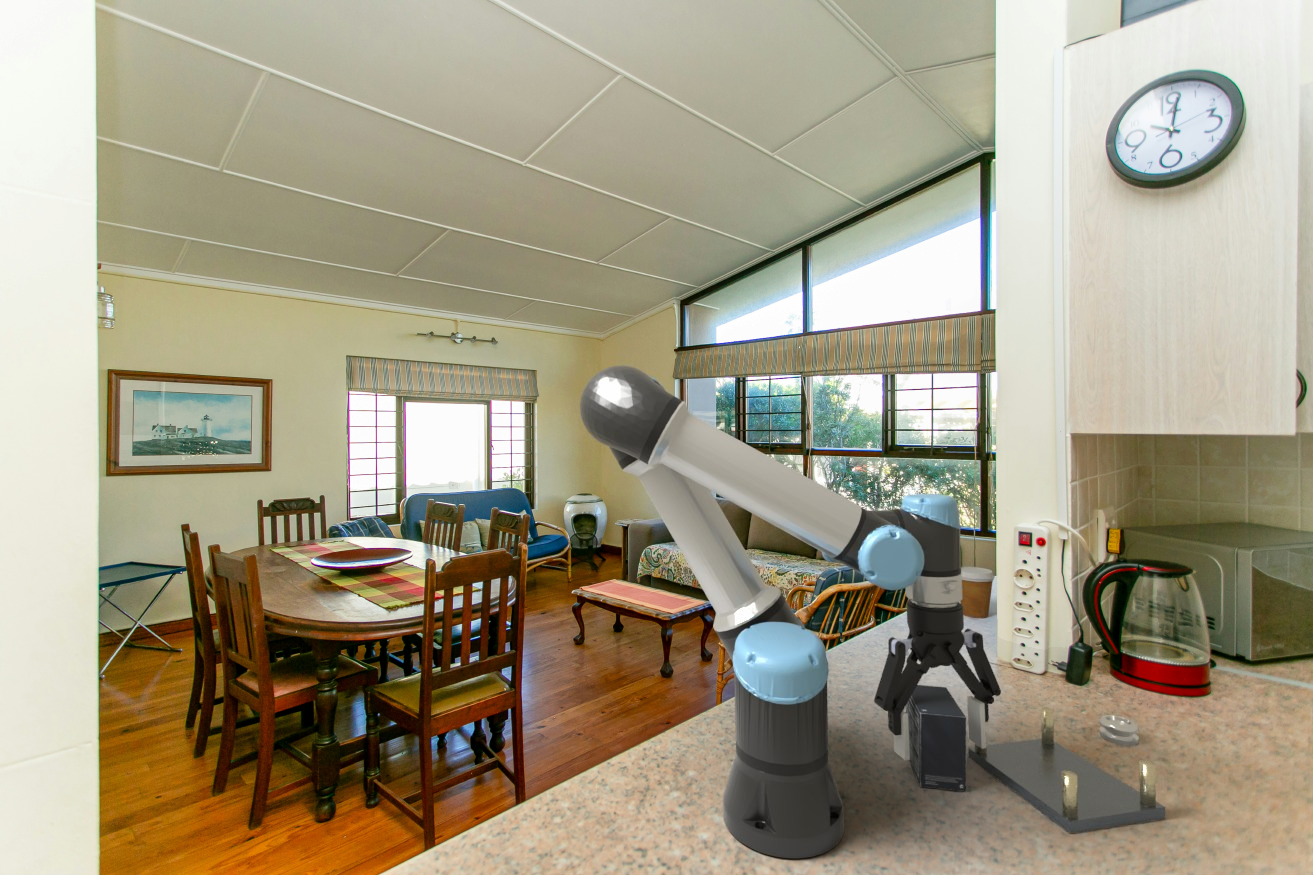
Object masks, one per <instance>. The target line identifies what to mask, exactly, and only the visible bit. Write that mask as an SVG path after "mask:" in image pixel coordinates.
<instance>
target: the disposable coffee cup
mask: <svg viewBox="0 0 1313 875" xmlns="http://www.w3.org/2000/svg"><path fill="white" fill-rule="evenodd" d="M961 574H962V600H961V601H960V602H959V603H960V604H961V605H962V606H963V616H965V617H970V618H973V619H974V618H976V619H985V618H988V617H989V613H990V605H991V598H992V591H993V590H992V587H993V582H994V579H995V577H996V576H995V575H994V572H993V570H991V569H989V568H984V567H977V566H961Z"/></svg>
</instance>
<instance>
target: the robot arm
mask: <svg viewBox="0 0 1313 875" xmlns="http://www.w3.org/2000/svg"><path fill="white" fill-rule="evenodd" d="M579 402H580V403H579V413H580V417H581V422H582V424H583V426H584V427H585V429H586V431H587V432H588V433H589V434H590V436H592V438H594V439H595V440H596V441H598V442H599V443H600V444H603V445H604V446H607V447H609V450H610V452H611V453H612V455H613V456H614V458H615V460H616V462H617V464H618V465H619V467H620V468H621V469H622V470H621V471H623V472H624V473H627V474H629V475H634V476H636V477H637V478H638V480H639V481H640V483H641V485H642V487H643V488H644V490H645V492H646V494H647V496H648V497H649V499H650V500H651V503H652V504H653V506H654V508H655V509H656V511H657V513H658V515H659V516H660V518H661V519H662V521H663V523H664V525H665V526H666V528H667V530H668V532H669V533H670V535H671V537H672V539H673V540H674V542H675V543H676V545H677V547H678V549H679V551H680V553H681V554H682V555H683V557H684V559H685V561H686V563H687V565H688V566H689V568H690V570H691V571H692V573H693V575H694V577H695V578H696V580H697V582H698V583H699V586H700V587H701V589H702V591H703V592H704V594H705V596H706V598H707V599H708V601H709V602H710V604H711V606H712V608H713V610H714V611H715V617H714V621H713V625H712V626H713V629H714V631H715V634H717V636H718V638H719V640H720V641H721V643H722V645H723V647H724V648H725V650H726V652H727V654H728V656H729V658H730V659H731V662H732V666H733V680H734V716H735V718H734V719H735V720H734V723H735V724H734V725H735V726H734V727H735V756H734V759H733V762H732V766H731V769H730V772H729V775H728V778H727V782H726V784H725V788H724V792H723V796H722V807H723V808H722V810H723V811H722V817H724V818H723V822H724V824H725V826H726V828H727V830H728V831H729V833H730V834H731V835H732V836H733V837H734V838H735V839H736V840H738V842H740V843H741V844H743V845H744V846H746V847H748V848H749V849H752V850H754V851H757V852H758V853H761V854H765V855H767V856H772V857H775V858H776V857H777V858H782V859H784V858H785V859H805V858H812V857H817V856H819V855H822V854H824V853H826V852H829V851H831V849H833V848H834V847H836V846H837V845H838V844H839V842H840V841H841V840H842V838H843V835H844V832H845V814H844V813H845V811H844V805H843V801H842V798H841V795H840V792H839V790H838V787H837V784H836V781H835V778H834V774H833V771H832V768H831V766H830V762H829V760H830V759H829V719H828V718H829V714H828V713H829V712H828V711H829V710H828V702H829V701H828V678H829V671H830V669H829V660H828V658H827V649H826V647H825V645H824V644H825V643H824V642H823V640H822V639H821V638H820V637H819V636H818V635H817V634H816V633H814V632H813V631H812V630H810V629H806V627H805V625H804V624H803V622H802V620H801V619H800V618H799V617H797V615H796V614H795V613H794V611H793V609H792V608H791V607H790V604H789V603H788V601H787V599H786V598H785V596H784V595H783V593H782V591H781V590H780V588H779V587H778V586H777V587H776V586H773V585H769V584H767V583H765V581H764V580H763V578H762V577H761V575H760V573H759V572H758V570H757V569H756V567H755V565H754V564H753V561H752V559H751V558H750V556H749V555H748V553H747V551H746V549H745V547H744V546H743V544H742V543H741V541H740V539H739V537H738V536H737V534H736V532H735V530H734V528H733V527H732V525H731V524H730V522H729V519H727V517H726V515H725V513H724V511H723V510H722V508H721V506H720V505H719V503H718V502H717V500H716V498H715V497H714V495H713V493H715V494H717V495H718V496H720V497H722V498H724V500H725V499H726V500H727V501H729V502H731V503H733V504H735V505H736V506H738V507H740V508H741V509H743V510H745V511H746V512H747V511H748V512H749V513H751V514H753V515H754V516H756V517H758V518H760V519H762V520H764V521H766V522H767V523H769V524H771V525H773V526H774V527H777V528H778V529H780V530H782V531H783V532H785V533H787V534H789V535H791V536H792V537H795V538H797V539H798V540H800V541H802V542H803V543H806V544H807V545H808V546H811V547H813V548H814V549H816V550H818V551H819V552H821V555H822V557H823V559H824V560H825V562H826V561H827V563H841V564H842V565H844V566H846V567H847V568H849V569H852V570H853V571H854V572H856V573H859V574H860V575H861V576H863V577H864V579H865V580H866V581H868V582H869V583H871V584H872V585H875V586H877V587H878V588H881V589H885V590H889V591H898V590H904V589H905V596H906V598H908V600H907V601H906V623H907V626H908V631H909V632H908V636H907V638H903V639H902V638H901V639H897V638H895V637H894V636H893V637H890V638H889V639H888V643H887V644H888V653H887V657H886V660H885V663H884V667H883V670H882V673H881V675H880V676H881V677H880V680H879V683H878V686H877V689H876V693H875V696H874V700H873V702H874V704H876V705H877V706H879V707H880V708H881V709H882V710H883V711H885V712H887V725H888V730H889V732H891V733H892V734H893V751H894V752H895V753H896V754H897V755H899V757H900V758H902V759H903V760H904V761H909V760H910V751H909V727H908V714H907V713H906V711H904V709H906V704H907V702H908V701H909V699H910V697H911V695H912V693H913V692H914V690H915V688H916V686H917V685H919V683H920V680H922V678H923V675H926V674H927V673H928V672H929V670H930V669H935V668H938V667H941V666H943V667H950V666H951V667H952V668H953V669H954V671H955V673H956V674H957V675H958V676H959V678H960V679H961V680H962V681H963V683H964V685H965V686H966V688H968V689H969V691H970V693H971V694H972V695H968V696H966V701H967V726H968V740H969V741H970V742H971V743H972V744H974V745H975V744H976V745H977V746H979V747H980V748H982V749H983V748H986V732H987V728H986V729H985V722H986V723H988V722H989V718H990V715H989V714H990V713H989V705H992V704H994V702H995V698H994V697H999V696H1000V695H1001V693H1002V691H1001V688H1000V685H999V683H998V681H997V677H996V675H995V672H994V671H993V670H994V669H993V668H992V666H991V663H990V661H989V659H988V655H987V654H986V651H985V649H984V636H983V635H982V633H979V632H976V631H974V630H972V629H970V628H966V629H965V630H964V628H965V627H964V626H965V622H964V615H963V606H962V605H961V603H960V601H961V600H962V574H961V567H962V561H961V552H962V551H961V530H962V527H961V521H960V513H959V512H960V511H959V507H958V501H957V500H956V499H955V498H954V497H953V496H950V495H947V494H940V493H917V494H908V495H905V496H904V497H903V498H902V500H901V505H900V508H895V509H890V510H889V509H888V510H887V509H886V510H885V509H884V510H880V509H879V510H867V509H866V508H863V507H861V506H860V505H858V504H856V503H855V502H854V501H852V500H849V499H848V498H846V497H844V496H842V495H840V494H839V493H837V492H835V491H833V490H831V489H829V488H827V487H826V486H824V485H822V484H820V483H819V482H817V481H814V480H813V479H811V478H809V477H807V476H805V475H803V474H801V472H798V471H796V470H794V469H793V468H791V467H789V466H787V465H785V464H783V463H782V462H780V461H778V460H776V459H774V458H773V457H771V456H769V455H768V454H766V453H763V452H762V451H759V450H758V449H756V448H754V447H753V446H752V445H751V446H750V445H748V443H745V442H743V441H741V440H739V439H737V438H736V437H734V436H733V435H731V434H728V433H726V432H725V431H723V430H721V429H720V428H717V427H716V426H714V425H713V424H710V423H708V422H707V421H705V420H702V419H701V418H699V417H697V416H695V415H693V414H692V413H691V412H689V409H688V406H687V403H686V401H684V400H682V399H680V398H679V397H677V396H676V395H675V396H674V394H672V393H670V392H668V391H667V390H666V389H665V387H664V386H663V385H661V383H659V381H657V379H655V378H653V377H652V376H650V375H648V374H647V373H646V372H644V371H643V370H641V369H638V368H636V367H633V366H631V365H630V366H629V365H615V366H614V365H613V366H609V367H606V368H603V369H602V370H600V371H598V372H597V373H595V374H594V375H593V376H592V377H591V378H590V379H589V380H588V382H587V383H586V385H585V386H584V388H583V390H582V393H581V396H580V401H579ZM712 492H713V493H712ZM963 630H964V631H963ZM963 646H965V649H966V652H967V653H968V657H969V658H970V661H971V663H972V666H973V667H974V671H975V673H976V674H975V673H974V672H973V671H972V669H971V668H970V666H969V664H968V661H967V660H966V659H965V657H963V655H962V653H961V652H960V651H961V649H962V648H963ZM909 650H910V653H909ZM907 656H908V657H907ZM918 661H919V663H918ZM905 663H906V665H905ZM904 666H905V667H904ZM976 675H977V676H976Z"/></svg>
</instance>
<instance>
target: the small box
mask: <svg viewBox="0 0 1313 875" xmlns="http://www.w3.org/2000/svg"><path fill="white" fill-rule="evenodd" d="M905 712H906V713H907V714H908V727H909V751H910V760H908V761H909V763H910V766H911V768H912V771H913V773H914V776H915V780H916V781H917V783H918V786H919V787H920V788H926V789H927V788H929V789H938V790H947V791H958V792H967V716H966V715H965V713H964V712H963V710H962V709H961V708H960V706H959V704H958V703H957V701H956V700H955V698H954V697H953V695H952V694H951V692H950V691H949V690H948V688H947V687H946V686H945V687H944V686H935V685H925V684H917V686H916V688H915V690H914V692H913V693H912V695H911V697H910V699H909V701H908V702H907V704H906V706H905Z"/></svg>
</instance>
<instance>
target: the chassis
mask: <svg viewBox="0 0 1313 875" xmlns="http://www.w3.org/2000/svg"><path fill="white" fill-rule="evenodd" d="M1040 716H1041V717H1040V723H1041V724H1040V725H1041V729H1040V732H1041V738H1033V739H1032V738H1031V739H1025V740H1017V741H1009V742H1001V743H994V744H993V743H992V744H988V741H987V740H988V738H987V737H988V735H987V732H988V731H986V748H983V749H982V748H980V747H979V746H977V745H976V744H974V746H968V748H967V758H969V759H970V760H971V761H972V762H974V763H975V764H977V765H978V766H979V767H980V768H982V769H983V770H984V771H986V772H987V773H989V774H990V775H991V776H993V777H994V778H995V779H996V780H998V781H999V782H1001V783H1002V784H1003V785H1005V787H1007V788H1008V789H1010V790H1011V791H1012V792H1014V793H1016V795H1018V796H1019V797H1020V798H1021V799H1024V800H1025V802H1027V803H1029V804H1030V806H1033V807H1034V808H1035V809H1036V810H1038V811H1039V812H1040V813H1042V814H1043V815H1044V816H1045V817H1046V818H1048V819H1050V820H1051V821H1052V822H1054V824H1057V825H1058V826H1059V827H1061V829H1063V830H1064V831H1065V832H1067V833H1069V834H1070V835H1072V834H1079V833H1084V832H1091V831H1092V832H1093V831H1096V830H1104V829H1110V828H1117V827H1122V826H1123V827H1124V826H1128V825H1134V824H1136V825H1137V824H1140V823H1148V822H1153V821H1160V820H1166V806H1164V805H1162V804H1161V803H1160V802H1157V784H1156V783H1157V781H1156V780H1157V779H1156V777H1157V775H1156V773H1157V772H1156V771H1157V770H1156V769H1157V768H1156V767H1157V766H1156V764H1155V763H1154V762H1152V761H1150V760H1146V759H1140V760H1139V762H1138V765H1139V769H1138V771H1139V790H1137V789H1135V787H1133V786H1130V785H1129V784H1128V783H1126V782H1125V781H1123V780H1121V779H1119V778H1117V777H1116V776H1114V775H1112V774H1111V773H1109V772H1108V771H1105V770H1104V769H1102V768H1100V767H1099V766H1097V765H1096V764H1094V763H1092V762H1091V761H1089V760H1088V759H1085V758H1083V757H1082V756H1080V755H1078V754H1077V753H1075V752H1073V751H1072V750H1070V749H1069V748H1067V747H1065V746H1063V745H1061V744H1060V743H1058V742H1057V741H1055V728H1054V726H1055V724H1054V720H1055V719H1054V716H1055V714H1054V708H1053V709H1052V708H1050V707H1045V706H1042V707H1040ZM985 729H986V730H987V722H985Z"/></svg>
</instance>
